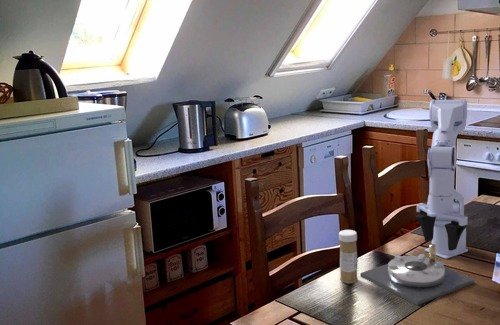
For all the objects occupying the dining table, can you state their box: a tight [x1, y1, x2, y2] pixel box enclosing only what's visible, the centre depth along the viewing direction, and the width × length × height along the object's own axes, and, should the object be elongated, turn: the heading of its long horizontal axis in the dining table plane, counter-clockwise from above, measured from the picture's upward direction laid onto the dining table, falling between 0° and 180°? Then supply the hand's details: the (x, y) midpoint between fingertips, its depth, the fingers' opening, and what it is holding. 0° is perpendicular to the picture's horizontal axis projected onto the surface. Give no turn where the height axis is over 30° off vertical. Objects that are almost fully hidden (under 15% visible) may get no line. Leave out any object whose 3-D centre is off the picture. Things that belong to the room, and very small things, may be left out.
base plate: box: [359, 254, 475, 306], centre depth 141 cm, size 20×20×1 cm
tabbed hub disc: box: [387, 243, 445, 287], centre depth 140 cm, size 14×14×7 cm
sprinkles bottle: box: [338, 229, 358, 284], centre depth 141 cm, size 5×5×14 cm
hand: (440, 244), depth 138 cm, fingers open, 7 cm apart
